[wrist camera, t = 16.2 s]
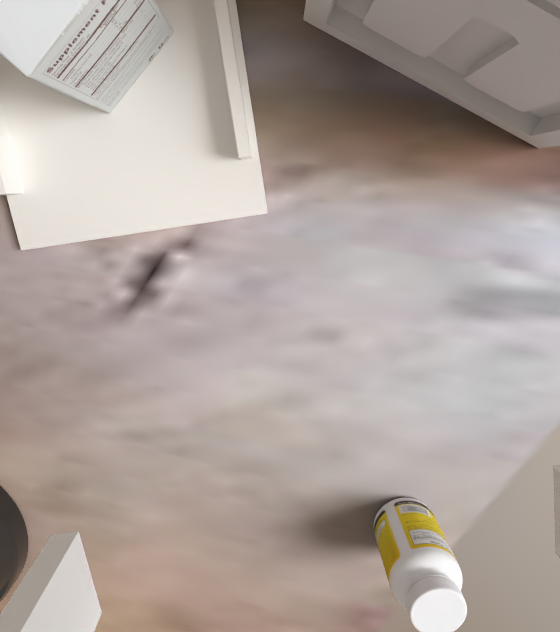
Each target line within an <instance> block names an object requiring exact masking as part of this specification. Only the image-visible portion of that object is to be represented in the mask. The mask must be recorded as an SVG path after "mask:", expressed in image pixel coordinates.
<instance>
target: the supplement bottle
mask: <svg viewBox="0 0 560 632" xmlns="http://www.w3.org/2000/svg"><path fill="white" fill-rule="evenodd" d="M373 528H374V534H375V538H376V541H377V545H378V548H379V551H380V554H381V557H382V561H383V564H384V567H385V571H386V574H387V578H388V581H389V585H390V588H391V590H392V593H393V595H394V597H395V598H396V600H397V601H398V602H399V603H400V604H401V605H402V606H403V607H405V608H406V609H407V611H408V614H409V616H410V619H411V622H412V623H413V625H414V626H415V628H416V629H418V630H419V631H420V632H452V631H454V630H456V629H457V628H458V627H459V626H460V625H461V624H462V623H463V621H464V620H465V617H466V614H467V607H466V602H465V600H464V598H463V595H462V593H461V588H462V573H461V570H460V567H459V565H458V563H457V560H456V558H455V557H454V555H453V552H452V550H451V549H450V547H449V545H448V543H447V541H446V539H445V537H444V535H443V533H442V531H441V529H440V527H439V525H438V523H437V521H436V519H435V517H434V515H433V513H432V512H431V510H430V509H429V508H428V507H427V506H426V505H425V504H424V503H423V502H421V501H419V500H417V499H413V498H398V499H394V500H392V501H390V502H388V503H387V504H385V505H384V506H383V507H382V508H381V509H380V510H379V511H378V513H377V514H376V516H375V519H374V524H373Z"/></svg>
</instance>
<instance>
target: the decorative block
mask: <svg viewBox="0 0 560 632" xmlns="http://www.w3.org/2000/svg"><path fill="white" fill-rule="evenodd" d="M303 20H304V21H306V22H308V23H310V24H311V25H313V26H315V27H317V28H319V29H321V30H322V31H324V32H326V33H328V34H330V35H332V36H333V37H335V38H337V39H339V40H341V41H343V42H344V43H346V44H348V45H350V46H352V47H354V48H355V49H357V50H359V51H361V52H363V53H365V54H366V55H368V56H370V57H372V58H374V59H376V60H377V61H379V62H381V63H383V64H385V65H387V66H388V67H390V68H392V69H394V70H396V71H398V72H399V73H401V74H403V75H405V76H407V77H408V78H410V79H412V80H414V81H416V82H418V83H419V84H421V85H423V86H425V87H427V88H429V89H430V90H432V91H434V92H436V93H438V94H440V95H441V96H443V97H445V98H447V99H449V100H451V101H452V102H454V103H456V104H458V105H460V106H462V107H463V108H465V109H467V110H469V111H471V112H473V113H474V114H476V115H478V116H480V117H482V118H484V119H485V120H487V121H489V122H491V123H493V124H494V125H496V126H498V127H500V128H502V129H504V130H505V131H507V132H509V133H511V134H513V135H515V136H516V137H518V138H520V139H522V140H524V141H526V142H527V143H529V144H531V145H533V146H535V147H537V148H538V149H539V148H545V147H551V146H558V145H560V0H306V4H305V11H304V17H303Z"/></svg>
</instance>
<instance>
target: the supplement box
mask: <svg viewBox="0 0 560 632" xmlns="http://www.w3.org/2000/svg"><path fill="white" fill-rule="evenodd" d="M173 33H174V30H173V28H172V27H171V25H170V24H169V22H168V21H167V19H166V18H165V17H164V15H163V13H162V12H161V10H160V9H159V7H158V5H157V4H156V2H155V1H154V0H0V55H1V56H2V57H4V58H5V59H6V60H7V61H8V62H9V63H10V64H12V65H13V66H14V67H15V68H16V69H18V70H19V71H20V72H21V73H22V74H23V75H25V76H26V77H27V78H30V79H32V80H35V81H37V82H39V83H41V84H44V85H46V86H48V87H50V88H53V89H55V90H57V91H59V92H61V93H63V94H65V95H68V96H70V97H72V98H75V99H77V100H79V101H81V102H84V103H86V104H88V105H90V106H93V107H95V108H97V109H100V110H102V111H105V112H107V113H111V112H112V111H113V109H114V108H115V107H116V105H117V104H118V103H119V102H120V100H121V99H122V98H123V97H124V95H125V94H126V93H127V91H128V90H129V89H130V88H131V86H132V85H133V84H134V83H135V81H136V80H137V79H138V78H139V76H140V75H141V74H142V73H143V71H144V70H145V69H146V67H147V66H148V65H149V64H150V62H151V61H152V60H153V59H154V57H155V56H156V55H157V54H158V52H159V51H160V50H161V48H162V47H163V46H164V44H165V43H166V42H167V41H168V40H169V38H170V37H171V36H172V34H173Z"/></svg>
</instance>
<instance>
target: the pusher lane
mask: <svg viewBox="0 0 560 632" xmlns="http://www.w3.org/2000/svg"><path fill="white" fill-rule="evenodd" d="M154 1H155V2H156V4H157V5H158V7H159V9H160V10H161V12H162V13H163V15H164V17H165V18H166V19H167V21H168V22H169V24H170V25H171V27H172V28H173V30H174V33H173V34H172V36H171V37H170V38H169V40H168V41H167V42H166V43H165V44H164V46H163V47H162V48H161V50H160V51H159V52H158V54H157V55H156V56H155V57H154V59H153V60H152V61H151V62H150V64H149V65H148V66H147V67H146V69H145V70H144V71H143V73H142V74H141V75H140V76H139V78H138V79H137V80H136V81H135V83H134V84H133V85H132V86H131V88H130V89H129V90H128V91H127V93H126V94H125V95H124V97H123V98H122V99H121V100H120V102H119V103H118V104H117V105H116V107H115V108H114V109H113V111H112V112H111V113H107V112H105V111H102V110H100V109H97V108H95V107H93V106H90V105H88V104H86V103H84V102H81V101H79V100H77V99H75V98H72V97H70V96H68V95H65V94H63V93H61V92H59V91H57V90H55V89H53V88H50V87H48V86H46V85H44V84H41V83H39V82H37V81H35V80H32V79H30V78H27V77H26V76H25V75H23V74H22V73H21V72H20V71H19V70H18V69H16V68H15V67H14V66H13V65H12V64H10V63H9V62H8V61H7V60H6V59H5V58H4V57H2V56H1V55H0V195H6V196H7V200H8V204H9V208H10V211H11V215H12V219H13V222H14V226H15V230H16V233H17V237H18V241H19V245H20V248H21V250H28V249H34V248H41V247H48V246H54V245H61V244H68V243H74V242H81V241H87V240H94V239H101V238H107V237H114V236H121V235H127V234H134V233H141V232H147V231H154V230H160V229H167V228H174V227H180V226H187V225H194V224H200V223H207V222H213V221H220V220H227V219H233V218H240V217H247V216H253V215H260V214H266V213H268V211H267V204H266V198H265V191H264V184H263V178H262V171H261V165H260V158H259V151H258V145H257V138H256V131H255V125H254V118H253V111H252V105H251V98H250V91H249V85H248V78H247V71H246V65H245V58H244V52H243V45H242V38H241V32H240V25H239V18H238V12H237V5H236V0H154Z"/></svg>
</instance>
